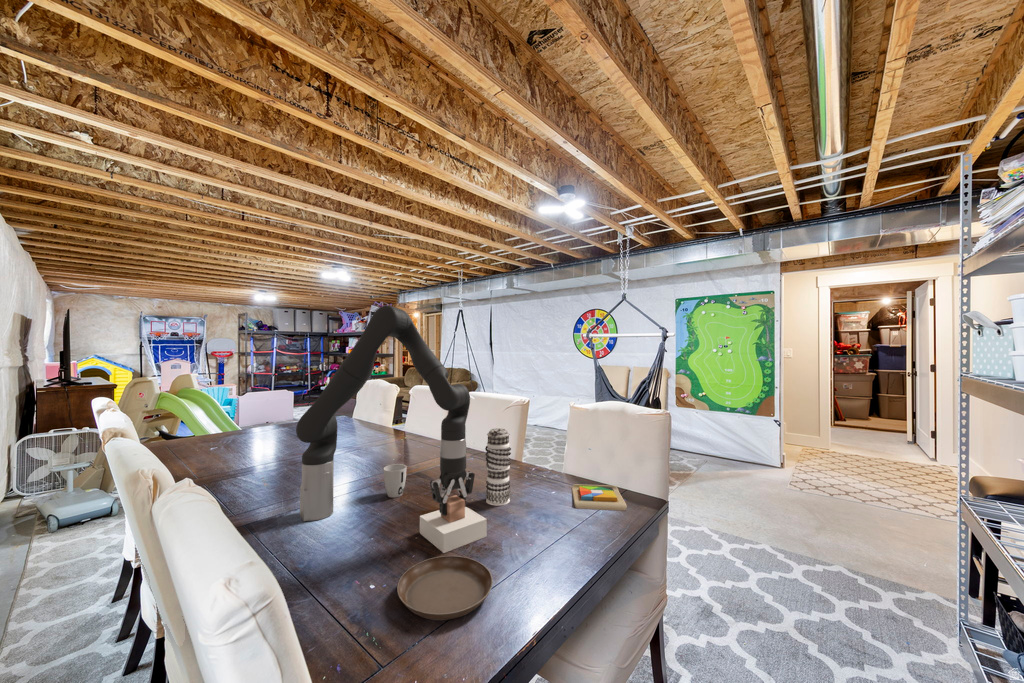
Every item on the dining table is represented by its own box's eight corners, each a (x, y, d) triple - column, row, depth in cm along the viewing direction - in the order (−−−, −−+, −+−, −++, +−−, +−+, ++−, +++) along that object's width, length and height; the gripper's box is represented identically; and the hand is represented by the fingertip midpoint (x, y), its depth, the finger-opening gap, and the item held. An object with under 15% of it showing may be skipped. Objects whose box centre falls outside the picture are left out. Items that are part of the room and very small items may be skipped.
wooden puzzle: (617, 491, 147) (617, 481, 147) (627, 512, 128) (627, 502, 128) (571, 489, 149) (571, 480, 149) (574, 510, 130) (574, 499, 130)
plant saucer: (493, 567, 96) (494, 554, 96) (490, 629, 75) (490, 612, 75) (410, 568, 96) (410, 554, 96) (384, 630, 75) (384, 613, 75)
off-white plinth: (443, 553, 102) (443, 534, 102) (419, 533, 113) (419, 515, 113) (486, 536, 111) (486, 519, 111) (460, 519, 122) (460, 503, 122)
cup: (402, 499, 137) (402, 471, 137) (380, 499, 137) (380, 471, 137) (409, 490, 145) (409, 464, 145) (387, 490, 145) (388, 463, 145)
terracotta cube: (449, 522, 108) (449, 504, 108) (440, 516, 112) (440, 499, 112) (464, 517, 112) (464, 500, 112) (455, 511, 115) (455, 495, 115)
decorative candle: (488, 507, 131) (488, 433, 131) (482, 497, 140) (482, 427, 140) (513, 504, 133) (514, 432, 133) (507, 494, 142) (507, 426, 142)
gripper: (437, 461, 105) (437, 524, 104) (480, 452, 114) (480, 509, 114) (424, 455, 110) (424, 514, 110) (467, 446, 120) (466, 501, 119)
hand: (452, 511), depth 112 cm, fingers open, 5 cm apart
